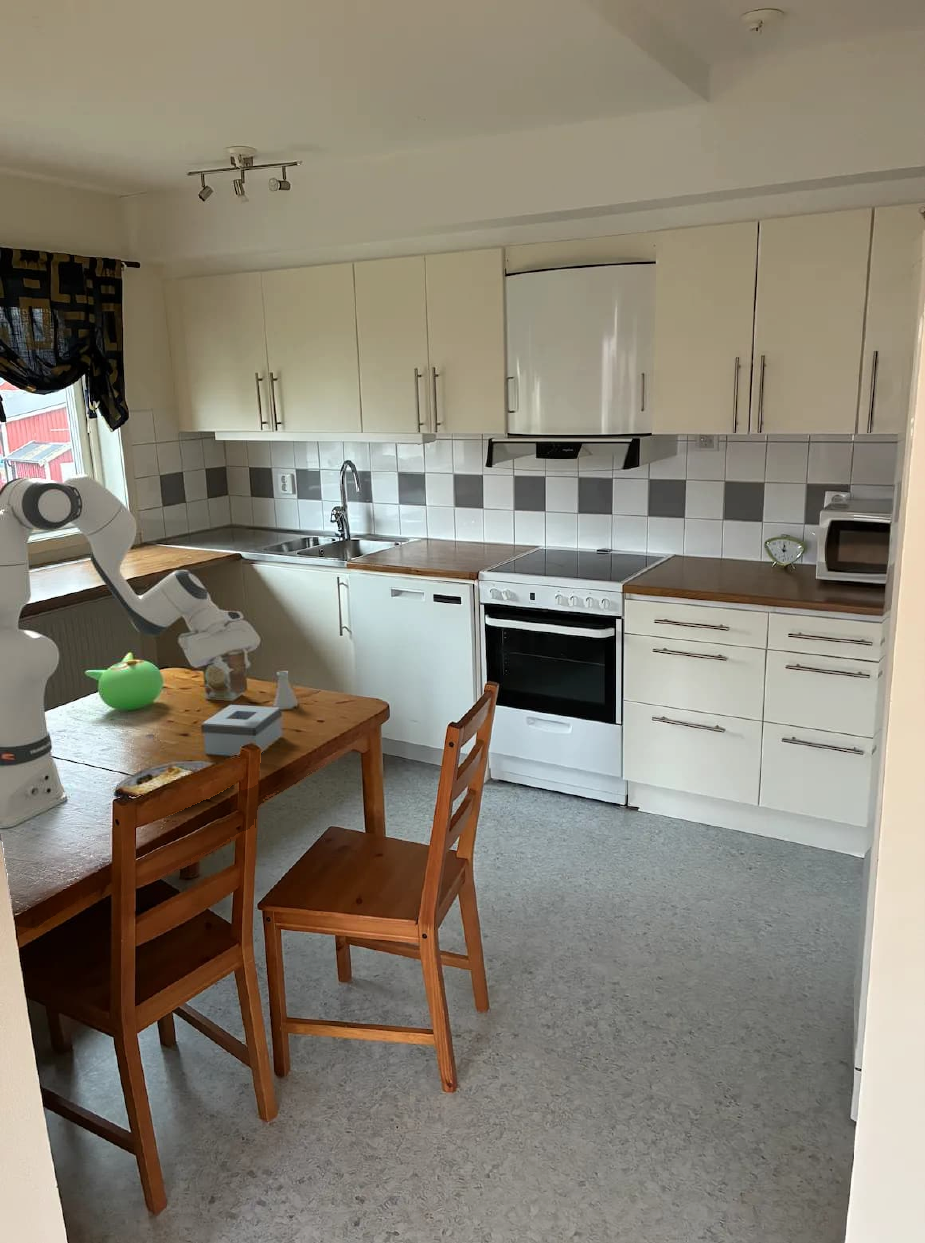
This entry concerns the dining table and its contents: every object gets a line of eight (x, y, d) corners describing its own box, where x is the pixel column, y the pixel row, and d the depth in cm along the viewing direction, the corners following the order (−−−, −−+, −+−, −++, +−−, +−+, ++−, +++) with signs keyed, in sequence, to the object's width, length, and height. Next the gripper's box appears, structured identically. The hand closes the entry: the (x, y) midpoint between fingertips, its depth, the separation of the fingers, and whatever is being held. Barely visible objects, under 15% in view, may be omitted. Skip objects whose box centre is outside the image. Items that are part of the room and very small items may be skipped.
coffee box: (204, 699, 275) (198, 646, 271) (216, 692, 281) (210, 640, 277) (232, 701, 272) (226, 647, 268) (243, 694, 278) (238, 642, 274)
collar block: (257, 757, 229) (254, 726, 227) (204, 754, 233) (200, 723, 231) (283, 736, 242) (281, 707, 240) (232, 733, 246) (229, 704, 244)
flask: (292, 711, 262) (290, 676, 260) (268, 710, 264) (265, 675, 261) (302, 702, 269) (299, 669, 267) (278, 701, 270) (275, 668, 268)
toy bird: (126, 721, 258) (119, 670, 255) (86, 712, 267) (80, 662, 264) (177, 702, 273) (171, 653, 270) (138, 694, 282) (132, 647, 278)
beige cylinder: (242, 693, 232) (238, 654, 229) (228, 692, 233) (224, 653, 230) (250, 688, 235) (246, 649, 233) (235, 687, 236) (232, 648, 234)
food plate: (167, 821, 196) (166, 805, 195) (92, 802, 207) (90, 787, 206) (250, 780, 217) (249, 766, 216) (178, 765, 228) (176, 751, 228)
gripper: (179, 628, 226) (209, 673, 222) (245, 610, 242) (275, 652, 238) (169, 643, 230) (199, 688, 226) (236, 625, 245) (264, 666, 242)
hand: (238, 669), depth 232 cm, fingers closed on beige cylinder, 4 cm apart
